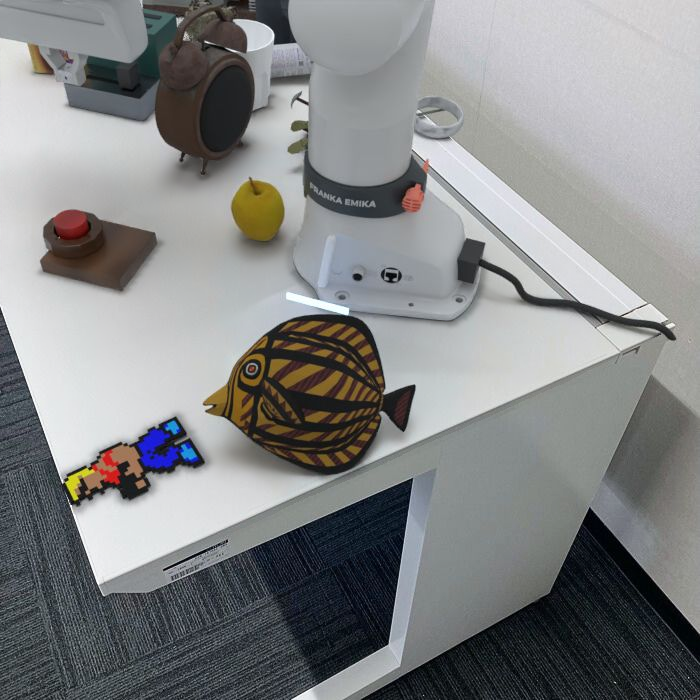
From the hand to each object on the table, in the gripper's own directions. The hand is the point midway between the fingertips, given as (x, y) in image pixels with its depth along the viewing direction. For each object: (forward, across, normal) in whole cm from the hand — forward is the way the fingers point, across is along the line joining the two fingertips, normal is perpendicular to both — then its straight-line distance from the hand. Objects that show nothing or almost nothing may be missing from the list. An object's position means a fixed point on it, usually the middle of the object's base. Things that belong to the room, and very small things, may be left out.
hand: (71, 81), depth 90 cm
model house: (+15, -8, +57) cm, 59 cm away
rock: (+12, -2, +50) cm, 51 cm away
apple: (+15, +24, -2) cm, 28 cm away
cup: (+14, +9, +27) cm, 32 cm away
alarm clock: (+15, +12, +12) cm, 22 cm away
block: (+14, +8, -13) cm, 21 cm away
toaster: (+14, -8, +22) cm, 27 cm away
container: (+11, +19, +38) cm, 44 cm away
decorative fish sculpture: (+14, +40, -34) cm, 54 cm away
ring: (+12, +38, +31) cm, 51 cm away
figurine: (+10, +19, +14) cm, 26 cm away
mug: (+14, +10, +42) cm, 46 cm away
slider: (+11, -5, +19) cm, 22 cm away
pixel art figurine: (+14, +29, -33) cm, 46 cm away
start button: (+11, +5, -13) cm, 18 cm away
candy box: (+14, -20, +25) cm, 35 cm away
